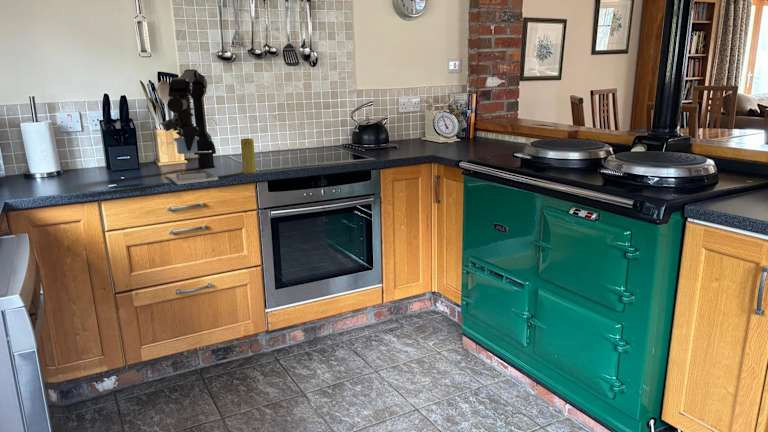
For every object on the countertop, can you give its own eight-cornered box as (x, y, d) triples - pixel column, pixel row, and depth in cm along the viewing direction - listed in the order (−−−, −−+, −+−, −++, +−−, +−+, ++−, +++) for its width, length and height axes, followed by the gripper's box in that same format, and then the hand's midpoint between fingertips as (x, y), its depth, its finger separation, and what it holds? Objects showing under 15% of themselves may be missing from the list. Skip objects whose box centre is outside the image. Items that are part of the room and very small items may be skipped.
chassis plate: (204, 172, 248) (204, 166, 248) (218, 179, 232) (217, 172, 231) (166, 176, 240) (165, 170, 239) (177, 184, 224) (176, 177, 223)
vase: (242, 174, 243) (239, 140, 239) (242, 171, 249) (239, 138, 245) (257, 173, 244) (254, 139, 241) (256, 170, 250) (253, 138, 246)
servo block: (197, 151, 234) (196, 134, 232) (200, 152, 231) (198, 135, 229) (175, 153, 230) (173, 136, 228) (177, 154, 226) (175, 137, 225)
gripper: (157, 110, 230) (162, 149, 234) (167, 113, 214) (172, 154, 218) (185, 109, 235) (189, 146, 239) (197, 111, 220) (201, 152, 224)
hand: (187, 150), depth 230 cm, fingers closed on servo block, 4 cm apart
